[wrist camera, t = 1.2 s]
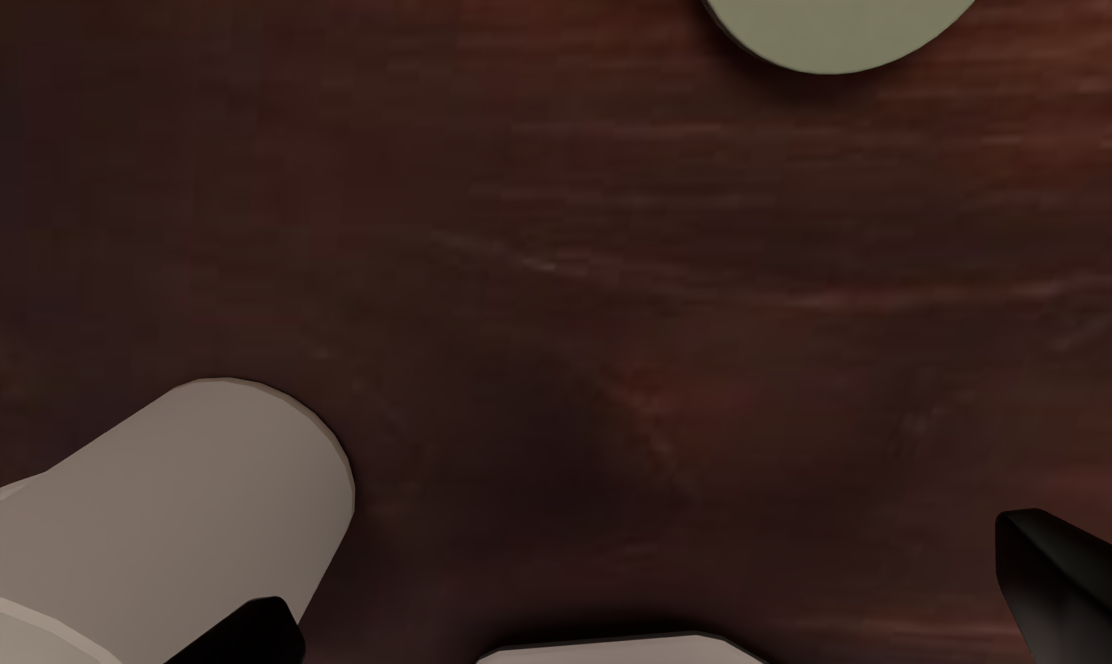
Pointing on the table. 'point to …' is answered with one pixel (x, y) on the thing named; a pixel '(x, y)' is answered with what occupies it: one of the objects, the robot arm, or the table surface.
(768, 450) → the table surface
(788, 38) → the green cylinder
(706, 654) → the plate
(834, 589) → the table surface
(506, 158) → the table surface
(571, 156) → the table surface
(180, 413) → the mug
